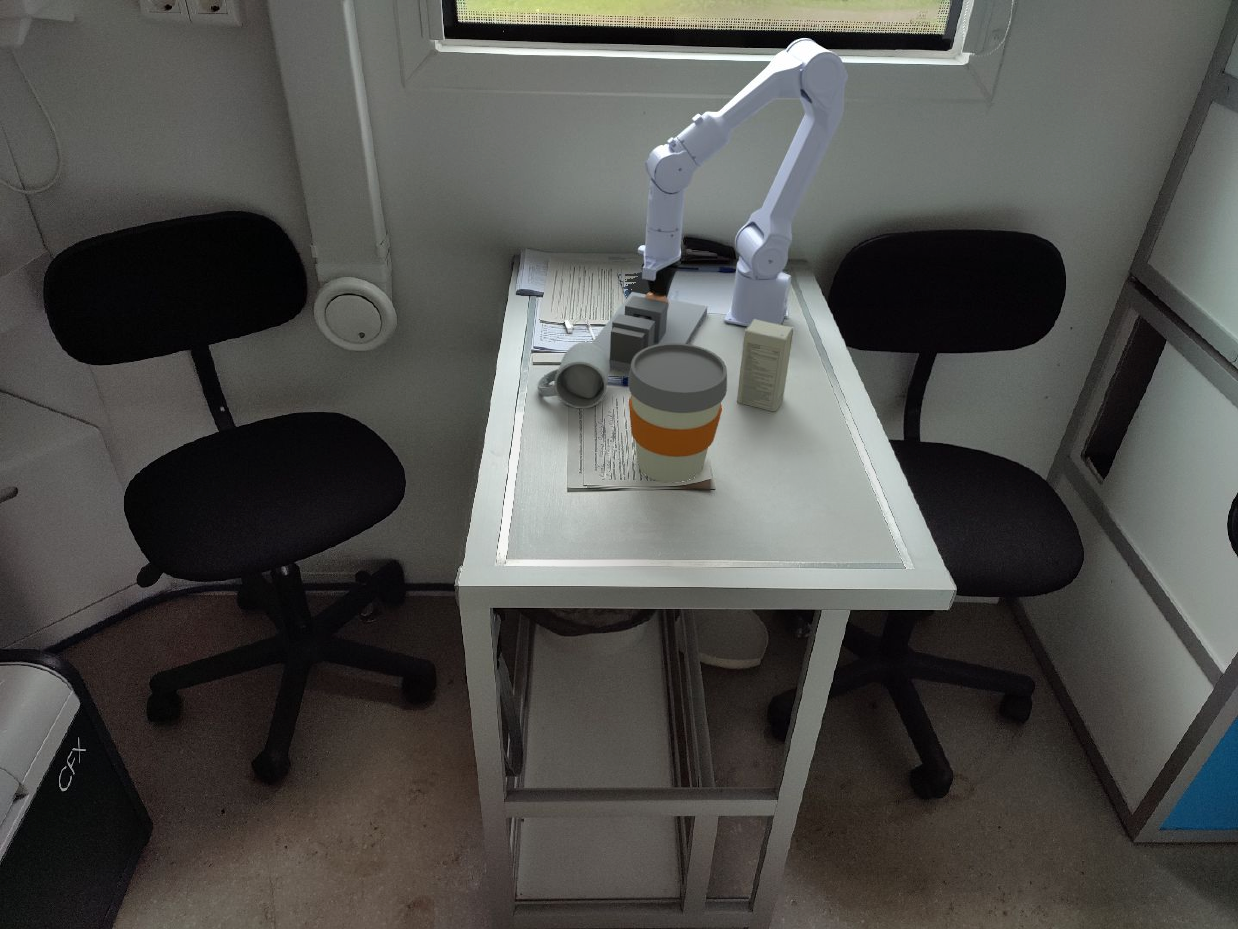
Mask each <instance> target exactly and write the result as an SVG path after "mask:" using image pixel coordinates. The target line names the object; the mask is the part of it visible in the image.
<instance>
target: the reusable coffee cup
mask: <svg viewBox="0 0 1238 929" xmlns="http://www.w3.org/2000/svg"><path fill="white" fill-rule="evenodd" d="M627 387H628V391H629V392H630V397H629V398H628V400H629V401H628V410H629V420H630V432H631V435H632V438H633V440H634V443H635V452H636V455H635V456H636V463H637V466H638V468H639V470H640V471H641V473H643V474H644V475H645V476H647V477H648V478H650V479H652V480H654V481H657V482H661V483H666V482H672V483H671V484H676V483H675V482H681V483H683V482H682V481H685V482H688V481H690V480H689V479H691V480H693V479H694V477H695V478H696V477H698V476H699V475H700V474H701V472H702V470H703V468H704V464H705V460H706V457H707V454H708V450H709V448H710V447H711V445H712V444H713V442H714V440H715V437H716V434H717V430H718V426H719V423H720V420H721V416H722V412H723V407H722V401H723V400H724V399H725V397H726V395H727V390H728V389H727V388H728V370H727V365H726V363H725V361H724V360H723V359H722V358H721V357H720V356H719V355H717V354H716V353H715V352H712V351H711V350H708V349H707V348H704V347H701V346H697V345H694V344H690V343H689V344H683V343H664V344H658V345H653V346H650V347H647V348H645V349H643V350H641V351H640V352H638V353H637V354H636V355H635V356H634V357H633V359H632V362H631V367H630V372H628V378H627ZM697 475H698V476H697ZM687 480H688V481H687Z"/></svg>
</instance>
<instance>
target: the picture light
mask: <svg viewBox="0 0 1238 929" xmlns="http://www.w3.org/2000/svg"><path fill="white" fill-rule="evenodd" d="M584 319H586V318H583V316H579V317H577V318H575V319H574V320H573V322H572V323H570V321H569V320H568V319H565V320H563V321H564V322H565V323H564V322H563V323H564V324H565V327H566V329H567V330H566V331H567V335H569V334H570V333H571V334H573V330H575V325H576V324H577V323H578V322H579V321H584V322H585V321H586V320H587V319H588V318H587V319H586V320H584ZM588 321H589V320H587V321H586V322H587V325H588V328H587V330H588V329H589V330H588V332H589V331H590V332H589V334H590V333H591V335H590V337H591V336H592V337H591V339H592V338H593V339H592V341H593V340H594V339H595V338H596V337H597V336H595V333H594V331H593V328H592V325H591V324H590V322H588ZM587 325H586V326H587Z"/></svg>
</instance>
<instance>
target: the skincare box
mask: <svg viewBox="0 0 1238 929" xmlns="http://www.w3.org/2000/svg"><path fill="white" fill-rule="evenodd" d="M794 329H795V328H794V327H793V326H789V325H785V324H782V323H781V324H776V323H772V322H767V321H762V320H757V319H753V321H752V322H751V323H750V324H749V325H748V326H746V327H745V329H744V334H743V336H744V337H743V343H742V352H741V361H740V362H741V363H740V370H739V378H738V389H737V397H736V398H737V399H736V402H737V403H740V404H743V405H747V406H750V407H754V408H759V409H763V410H767V411H771V412H776V411H777V410H778V409H779V407H780V405H781V404H782V401H783V399H784V396H785V388H786V382H787V375H788V369H789V362H790V357H791V349H792V342H793V335H794Z"/></svg>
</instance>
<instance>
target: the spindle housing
mask: <svg viewBox="0 0 1238 929" xmlns="http://www.w3.org/2000/svg"><path fill="white" fill-rule="evenodd" d="M645 296H646V295H645V294H640V293H635V292H631V294H630V295H629V296H628V298H627V299H626V298H625V300H624V301H623V303H622V304H620V307H618V309H617V310H616V312H615V313H614V314H613V316H611V318H610V319H609V321H607V323H606V324H605V326H603V328H602V329H601V330H600V332H599V333H598V335H597V336H595V337H596V338H595V339H594V341H593V340H592V342H591V343H593V344H596V345H598V346H599V347H601V348H602V349H603V350H604V351H605V353H606V354H607V356H608V359H609V364H610V369H613V370H617V371H622V372H626V373H629V372H630V367H631V362H632V359H633V357H634V356H635V355H636V354H637V353H638V352H640V351H641V350H643V349H645V348H647V347H650V346H653V345H658V344H664V343H683V344H690V343H691V341H692V340H693V338H694V336H695V335H696V333H697V332H698V330H699V328H700V326H701V325H702V323H703V321H704V320H705V318H706V316H707V314H708V306H707V305H701V304H697V303H691V302H686V301H681V300H677V299H676V300H675V299H671V298H667V299H668V301H669V308H668V302H664V301H659V300H654V299H649V298H644V297H645ZM639 314H640V315H645V316H650V317H651V320H647V319H642V318H637V317H638V315H639Z"/></svg>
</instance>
